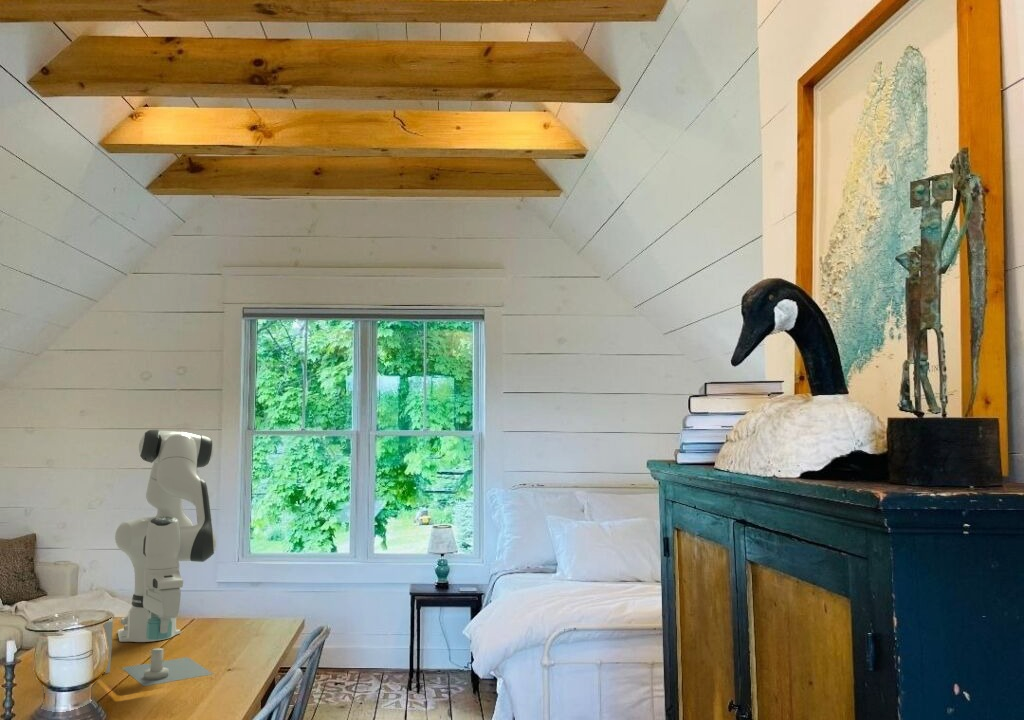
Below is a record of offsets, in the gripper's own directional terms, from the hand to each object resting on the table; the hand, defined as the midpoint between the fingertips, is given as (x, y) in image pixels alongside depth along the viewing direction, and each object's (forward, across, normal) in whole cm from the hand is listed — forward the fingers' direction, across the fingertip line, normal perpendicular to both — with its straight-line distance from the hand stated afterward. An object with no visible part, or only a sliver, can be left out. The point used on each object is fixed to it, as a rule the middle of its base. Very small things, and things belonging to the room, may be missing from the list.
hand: (159, 630), depth 218 cm
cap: (+2, 0, 0) cm, 2 cm away
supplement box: (+13, -17, -12) cm, 25 cm away
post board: (+13, -4, +4) cm, 14 cm away
